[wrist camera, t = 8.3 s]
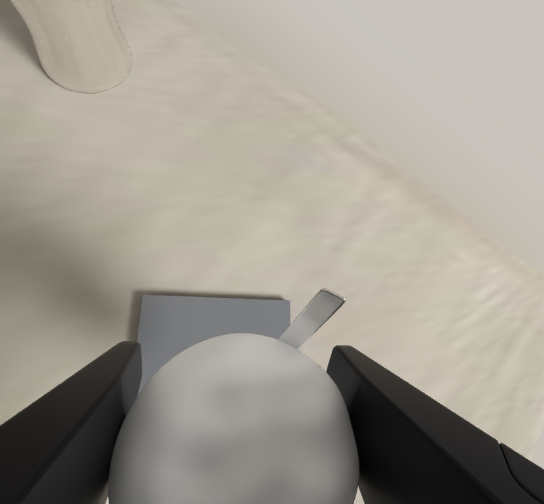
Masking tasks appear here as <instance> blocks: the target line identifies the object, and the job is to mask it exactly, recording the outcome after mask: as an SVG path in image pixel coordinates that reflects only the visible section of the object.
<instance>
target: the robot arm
mask: <svg viewBox="0 0 544 504" xmlns="http://www.w3.org/2000/svg"><path fill="white" fill-rule="evenodd" d="M327 374H328V375H329V376H330V377H331V379H332V380H333V381H334V383H335V384H336V386H337V387H338V389H339V391H340V393H341V395H342V397H343V399H344V402H345V405H346V408H347V411H348V414H349V418H350V422H351V426H352V429H353V433H354V437H355V441H356V446H357V451H358V458H359V481H358V486H359V489H360V492H361V495H362V497H363V500H364V503H365V504H544V469H542V468H541V467H539V466H538V465H536V464H534V463H533V462H531V461H530V460H528V459H526V458H525V457H523V456H522V455H520V454H519V453H517V452H516V451H514V450H512V449H511V448H509V447H508V446H506V445H505V444H503V443H500V444H499V443H498V441H497V440H496V439H494V438H493V437H491V436H490V435H488V434H487V433H485V432H483V431H482V430H480V429H479V428H477V427H476V426H474V425H473V424H471V423H470V422H468V421H466V420H465V419H463V418H462V417H460V416H459V415H457V414H456V413H454V412H452V411H451V410H449V409H448V408H446V407H445V406H443V405H442V404H440V403H439V402H437V401H435V400H434V399H432V398H431V397H429V396H428V395H426V394H425V393H423V392H421V391H420V390H418V389H417V388H415V387H414V386H412V385H411V384H409V383H408V382H406V381H404V380H403V379H401V378H400V377H398V376H397V375H395V374H394V373H392V372H391V371H389V370H387V369H386V368H384V367H383V366H381V365H380V364H378V363H377V362H375V361H373V360H372V359H370V358H369V357H367V356H366V355H364V354H363V353H361V352H360V351H358V350H356V349H355V348H353V347H352V346H347V345H337V346H335V347H334V348H333V350H332V354H331V357H330V361H329V364H328V367H327ZM141 378H142V354H141V344H140V343H139V342H135V341H122V342H120V343H118V344H117V345H115V346H114V347H112V348H111V349H110V350H108V351H107V352H105V353H104V354H102V355H101V356H99V357H98V358H97V359H95V360H94V361H92V362H91V363H89V364H88V365H87V366H85V367H84V368H82V369H81V370H79V371H78V372H77V373H75V374H74V375H72V376H71V377H69V378H68V379H66V380H65V381H64V382H62V383H61V384H59V385H58V386H56V387H55V388H54V389H52V390H51V391H49V392H48V393H46V394H45V395H43V396H42V397H41V398H39V399H38V400H36V401H35V402H33V403H32V404H31V405H29V406H28V407H26V408H25V409H23V410H22V411H21V412H19V413H18V414H16V415H15V416H13V417H12V418H10V419H9V420H8V421H6V422H5V423H3V424H2V425H0V504H105V502H106V500H107V497H108V481H109V471H110V464H111V459H112V454H113V450H114V446H115V443H116V439H117V436H118V434H119V431H120V428H121V426H122V424H123V422H124V420H125V417H126V416H127V414H128V412H129V410H130V408H131V406H132V405H133V403H134V401H135V400H136V398H137V396H138V392H139V387H140V383H141Z"/></svg>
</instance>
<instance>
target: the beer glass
mask: <svg viewBox="0 0 544 504" xmlns="http://www.w3.org/2000/svg"><path fill="white" fill-rule="evenodd" d="M10 2H11V3H12V4H13V6H14V7H15V8H16V10H17V11H18V13H19V14H20V16H21V17H22V19H23V21H24V22H25V24H26V26H27V28H28V30H29V32H30V34H31V37H32V39H33V42H34V45H35V49H36V52H37V55H38V58H39V61H40V63H41V65H42V67H43V69H44V71H45V72H46V74H47V75H48V76H49V77H50V78H51V79H52V80H53V81H54V82H56V83H57V84H58V85H60V86H62V87H64V88H66V89H69V90H72V91H76V92H83V93H95V92H101V91H105V90H108V89H110V88H113V87H115V86H116V85H118V84H119V83H121V82H122V81H123V80H124V79H125V78H126V77H127V75H128V74H129V72H130V69H131V66H132V54H131V50H130V47H129V45H128V42H127V40H126V38H125V36H124V34H123V32H122V30H121V28H120V26H119V23H118V21H117V19H116V15H115V12H114V9H113V4H112V0H10Z"/></svg>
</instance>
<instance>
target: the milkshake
mask: <svg viewBox="0 0 544 504" xmlns="http://www.w3.org/2000/svg"><path fill="white" fill-rule="evenodd" d="M345 301H346V299H345V298H344V297H342V296H340V295H338V294H336V293H334V292H332V291H330V290H328V289H325V288H323V289H321V290H320V291H319V292H318V293H317V294H316V295H315V297H314V298H313V299H312V300H311V301H310V302H309V304H308V305H307V306H306V307H305V308H304V309H303V311H302V312H301V313H300V314H299V315H298V316H297V318H296V319H295V320H294V321H293V322H292V323H291V325H290V326H289V327H288V328H287V329H286V330H285V332H284V333H283V334H282V335H281V336H280V338H279V339H278V340H277V339H274V338H271V337H267V336H263V335H257V334H249V333H235V334H227V335H222V336H217V337H214V338H211V339H208V340H205V341H202V342H200V343H198V344H195V345H193V346H191V347H189V348H188V349H186V350H184V351H182V352H181V353H179V354H178V355H176V356H175V357H173V358H172V359H171V360H169V361H168V362H167V363H166V364H164V365H163V366H162V367H161V368H160V369H159V370H158V371H157V372H156V373H155V374H154V375H153V376H152V378H151V379H150V380H149V381H148V383H147V384H146V385H145V387H144V388H143V389H142V391H141V392H140V394H139V395H138V397H137V398H136V400H135V401H134V403H133V405H132V406H131V408H130V410H129V412H128V414H127V416H126V417H125V420H124V422H123V424H122V426H121V428H120V431H119V434H118V436H117V439H116V443H115V446H114V450H113V454H112V459H111V464H110V471H109V481H108V498H109V504H353V503H354V500H355V497H356V493H357V488H358V481H359V458H358V451H357V446H356V441H355V437H354V433H353V429H352V426H351V422H350V418H349V414H348V411H347V408H346V405H345V402H344V399H343V397H342V395H341V393H340V391H339V389H338V387H337V386H336V384H335V383H334V381H333V380H332V379H331V377H330V376H329V375H328V374H327V373H326V372H325V370H324V369H323V368H322V367H321V366H320V365H318V364H317V363H316V362H315V361H314V360H313V359H311V358H310V357H309V356H307V355H306V354H304V353H303V352H301V351H300V350H298V349H299V348H300V347H301V346H302V345H303V344H304V343H305V342H306V341H307V340H308V339H309V338H310V337H311V336H312V335H313V334H314V333H315V332H316V331H317V330H318V329H319V328H320V327H321V326H322V325H323V324H324V323H325V322H326V321H327V320H328V319H329V318H330V317H331V316H332V315H333V314H334V313H335V312H336V311H337V310H338V309H339V308H340V307H341V306H342V305H343V304H344V303H345Z"/></svg>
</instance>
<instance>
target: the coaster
mask: <svg viewBox="0 0 544 504" xmlns="http://www.w3.org/2000/svg"><path fill="white" fill-rule="evenodd" d="M289 326H290V301H288V300H263V299H239V298H214V297H189V296H164V295H142V303H141V312H140V320H139V328H138V336H137V342H139V343H140V344H141V354H142V378H141V383H140V387H139V392H138V395H139V394H140V392H141V391H142V389H143V388H144V387H145V385H146V384H147V383H148V381H149V380H150V379H151V378H152V376H153V375H154V374H155V373H156V372H157V371H158V370H159V369H160V368H161V367H162V366H163V365H164V364H166V363H167V362H168V361H169V360H171V359H172V358H173V357H175V356H176V355H178V354H179V353H181V352H182V351H184V350H186V349H188V348H189V347H191V346H193V345H195V344H198V343H200V342H202V341H205V340H208V339H211V338H214V337H217V336H222V335H227V334H235V333H249V334H257V335H263V336H267V337H271V338H274V339H277V340H278V339H279V338H280V336H281V335H282V334H283V333H284V332H285V330H286V329H287V328H288V327H289ZM137 397H138V396H137Z"/></svg>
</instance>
